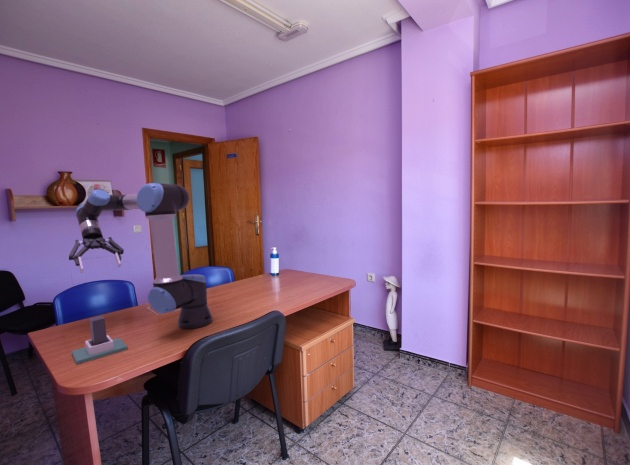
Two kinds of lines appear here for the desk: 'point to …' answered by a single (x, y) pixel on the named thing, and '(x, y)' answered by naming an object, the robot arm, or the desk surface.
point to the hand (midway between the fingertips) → (101, 268)
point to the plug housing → (98, 330)
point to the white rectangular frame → (156, 313)
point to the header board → (98, 350)
